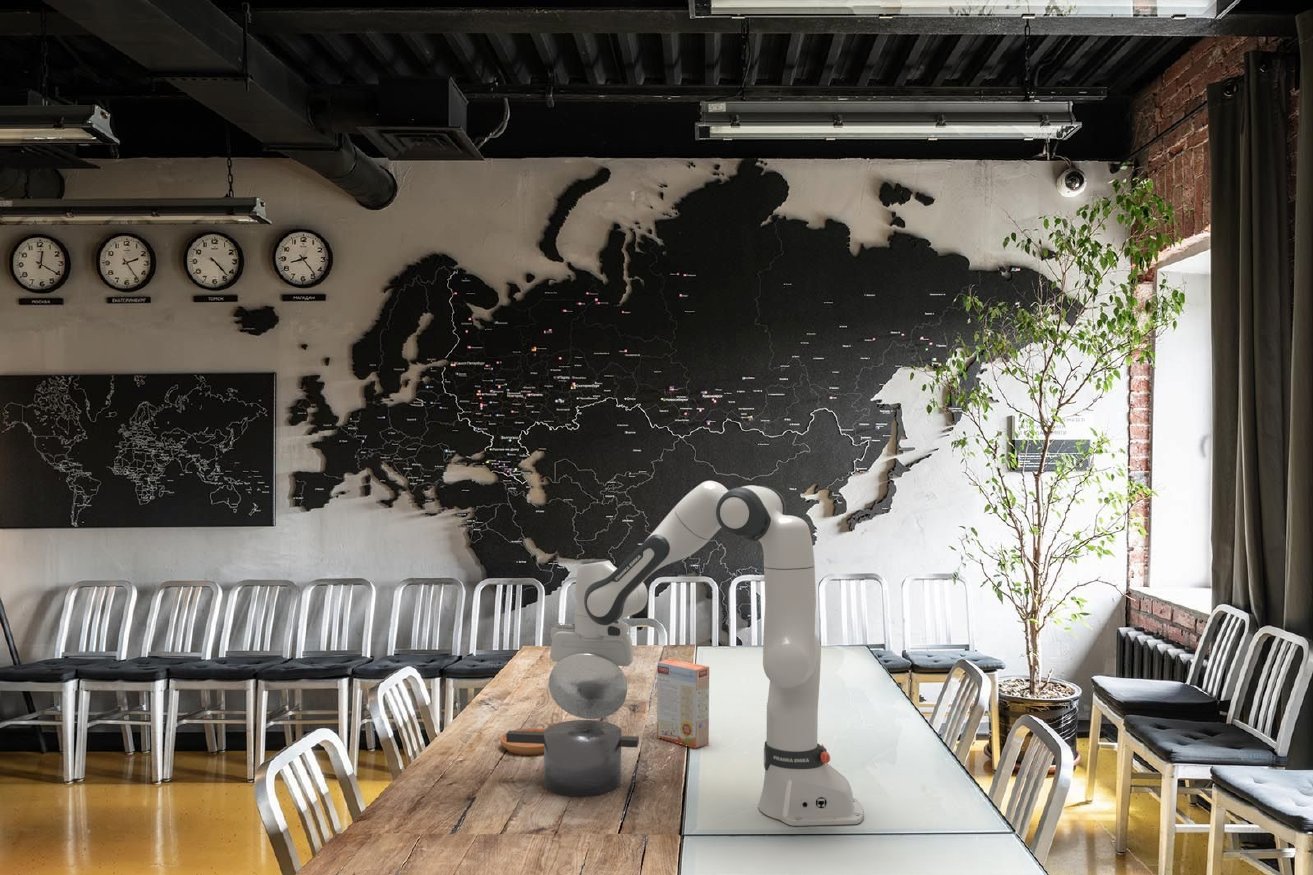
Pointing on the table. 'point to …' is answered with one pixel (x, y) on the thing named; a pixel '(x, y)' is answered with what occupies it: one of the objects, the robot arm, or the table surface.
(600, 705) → the pot lid
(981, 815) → the table surface
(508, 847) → the table surface
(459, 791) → the table surface
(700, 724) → the cracker box
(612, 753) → the cooking pot
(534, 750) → the saucer
